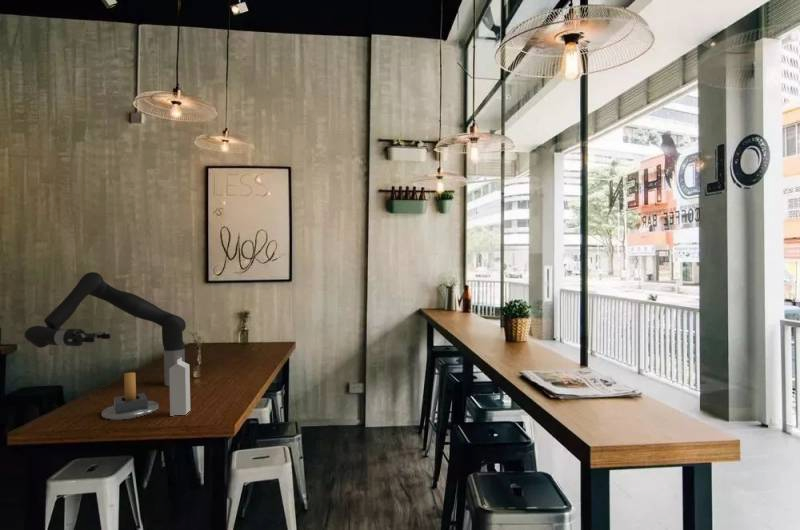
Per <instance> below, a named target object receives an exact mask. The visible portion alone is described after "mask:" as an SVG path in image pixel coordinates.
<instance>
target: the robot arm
mask: <svg viewBox="0 0 800 530" xmlns="http://www.w3.org/2000/svg"><path fill="white" fill-rule="evenodd" d="M87 296H92V297H96V298H98V299H99V300H103V301H104V302H107V303H109V304H111V305H113V306H114V307H116V308H118V309H120V310H122V311H123V312H125V313H127V314H128V315H130V316H133V317H135V318H138V319H141V320H145V321H148V322H151V323H154V324H157V325H158V326H160V327H161V339H162V341H161V342H162V345H163V367H164V368H163V370H164V376H163V377H164V381H163V382H164V386H166V387H170V381H169V368H171V367H172V366H174V365H175V364H177V360H178V359H179V358H181V357H182V361H183V362H185V363H186V361H185V360H186V355H185V352H186V351H185V348H186V347H185V346H186V345H185V342H184V338H183V332H184V331H185V329H186V326H187V324H186V321H185V320H184V319H183V318H182V317H181V316H178V315H176V314H174V313H171V312H168V311H166V310H164V309H162V308H160V307H158V306H156V305H155V304H153V303H152V302H150V301H147V300H146V299H144V298H143V297H140V296H139V295H137V294H134V293H132V292H127V291H124V290H120V289H117V288H115V287H114V286H111V285H110V284H108V283H107V282H105V280H104V278H103V276H102V275H101V274H100V273H98V272H96V271H92V272H91V271H90V272H88V273H85V274H84V275H83V276H82V277H81V279H79V281H78V282H77V284H76V285H75V287H74V288H73V289H72V290H71V291H70V293H69V294H68V295H67V296H66V297H65V298H64V299H63V300H62V302H61V303H60V304H58V305H57V307H55V308H54V309H53V310H52V311H51V312H50V313H49V314H48V315H47V316H46V317H45V318H44V321H43V322H44V323H45V325H46V326H43V325H33V326H30V327H28V328H27V329H26V330H25V331H24V338H25V339H26V341H28V342H30V343H31V344H33V345H34V346H35V347H37V348H41V349H42V348H45V347H47V346H49V345H50V346H51V345H52V346H63V347H80V346H82V345H83V344H85V343H94V342H96V341H98V340H110V339H111V334H110V333H106V332H105V331H104V332H89V331H88V332H85V330H83V329H82V328H61V327H62V326H63V325H64V324H65V323H66V322H67V321H68V320H69V319H70V318H71V317H72V316H73V314H74V313H75V311H76V310H77V309H78V307H79V305H80V304H81V303H82V302H83V300H84V299H86V297H87ZM60 328H61V329H60Z"/></svg>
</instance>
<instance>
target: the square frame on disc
mask: <svg viewBox="0 0 800 530" xmlns="http://www.w3.org/2000/svg"><path fill="white" fill-rule="evenodd" d="M157 409H158V410H159V403H158V402H157V401H153V400H148V397H147V395H146V394H145V392H141V393H136V399H134V400H128V401H125V395H122V396H114V397H113V405H111V406H109V407H106V408H104V409H103V410H102V411H101V418H102V417H103V418H105V419H104V420H107V419H110V420H109V421H122V420H123V419H126V420H131V419H132V418H133V419H137V418H136V417H138V418H141V417H140V416H142V417H145V416H144V415H146V416H148V415H147V414H149V415H151V414H153V413H152V412H154V411H155V412H157V411H158V410H157ZM156 410H157V411H156ZM155 412H154V413H155ZM150 413H151V414H150ZM103 418H102V419H103ZM123 421H124V420H123Z"/></svg>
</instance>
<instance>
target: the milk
mask: <svg viewBox="0 0 800 530" xmlns="http://www.w3.org/2000/svg"><path fill="white" fill-rule="evenodd" d="M190 371H191V369H190V364H189V363H187V362H186V361H185V362H183V361H182V357H181V358H179V359H178V360H177V364H175V365H174V366H172V367H171V368H169V381H170V386H169V416H173V417H175V416H174V415H186V414H187V413H188V412H189V411H190V412H191V380H190V377H191V376H190V375H191V374H190ZM190 412H189V413H190ZM189 413H188V414H189ZM188 414H187V415H188ZM187 415H186V416H187Z"/></svg>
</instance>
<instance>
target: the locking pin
mask: <svg viewBox="0 0 800 530" xmlns="http://www.w3.org/2000/svg"><path fill="white" fill-rule="evenodd" d="M123 379H124V381H123V383H124V396H125V401H128V400H134V399H136V394H137V387H136V386H137V384H136V383H137V381H136V379H137V378H136V372H125V373H124V374H123Z"/></svg>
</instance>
